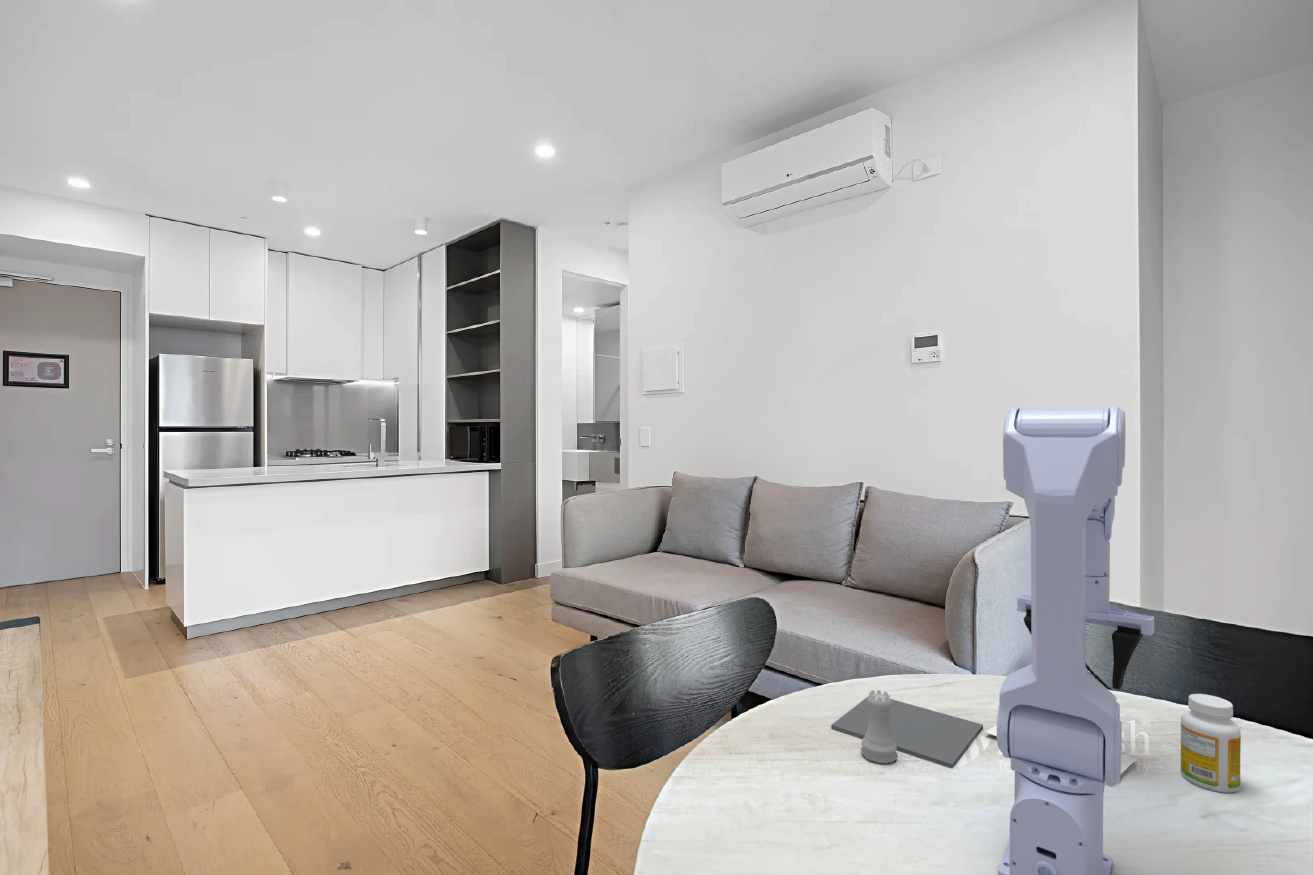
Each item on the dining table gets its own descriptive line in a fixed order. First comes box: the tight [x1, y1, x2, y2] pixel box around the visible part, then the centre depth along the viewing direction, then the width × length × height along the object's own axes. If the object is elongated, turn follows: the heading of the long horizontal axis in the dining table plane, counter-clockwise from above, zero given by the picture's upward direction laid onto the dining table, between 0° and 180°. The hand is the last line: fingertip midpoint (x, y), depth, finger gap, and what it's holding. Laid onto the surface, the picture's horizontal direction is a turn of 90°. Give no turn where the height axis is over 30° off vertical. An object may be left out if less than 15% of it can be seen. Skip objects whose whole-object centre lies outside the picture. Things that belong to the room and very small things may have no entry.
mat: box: [830, 697, 984, 769], centre depth 90 cm, size 14×16×1 cm
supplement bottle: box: [1180, 693, 1242, 794], centre depth 76 cm, size 5×5×10 cm
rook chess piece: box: [860, 689, 898, 765], centre depth 82 cm, size 4×4×8 cm
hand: (1081, 677), depth 82 cm, fingers open, 7 cm apart
